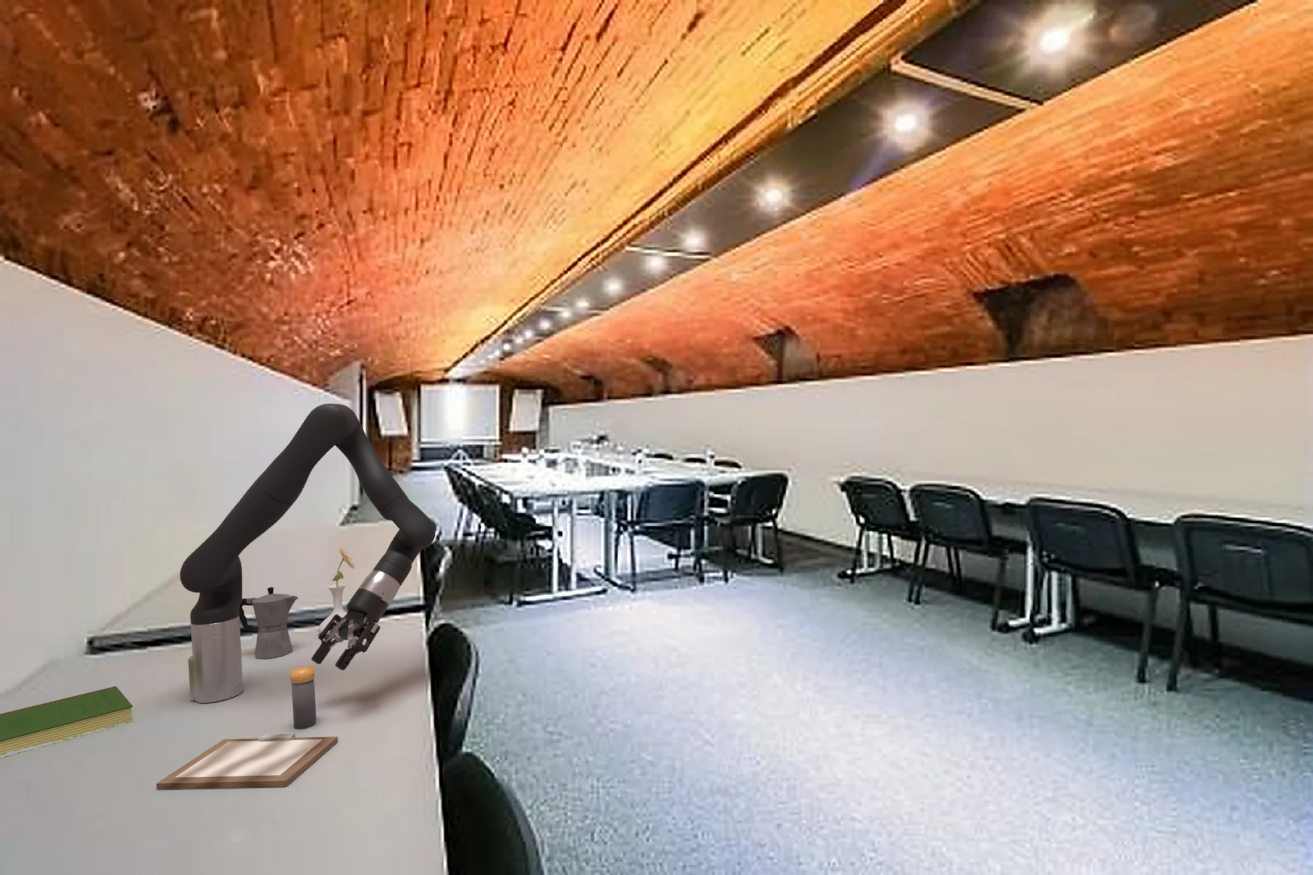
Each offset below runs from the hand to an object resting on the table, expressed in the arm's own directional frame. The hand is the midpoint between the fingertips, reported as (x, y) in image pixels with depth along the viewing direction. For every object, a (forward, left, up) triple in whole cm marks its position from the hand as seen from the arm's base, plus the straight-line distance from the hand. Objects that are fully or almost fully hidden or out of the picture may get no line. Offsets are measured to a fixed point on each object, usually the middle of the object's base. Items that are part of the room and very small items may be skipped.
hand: (327, 665), depth 139 cm
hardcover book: (-57, -4, -11) cm, 58 cm away
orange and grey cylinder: (-3, -4, -10) cm, 11 cm away
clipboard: (-3, -20, -10) cm, 23 cm away
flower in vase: (-31, +62, -10) cm, 70 cm away
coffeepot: (-40, +42, -10) cm, 58 cm away
